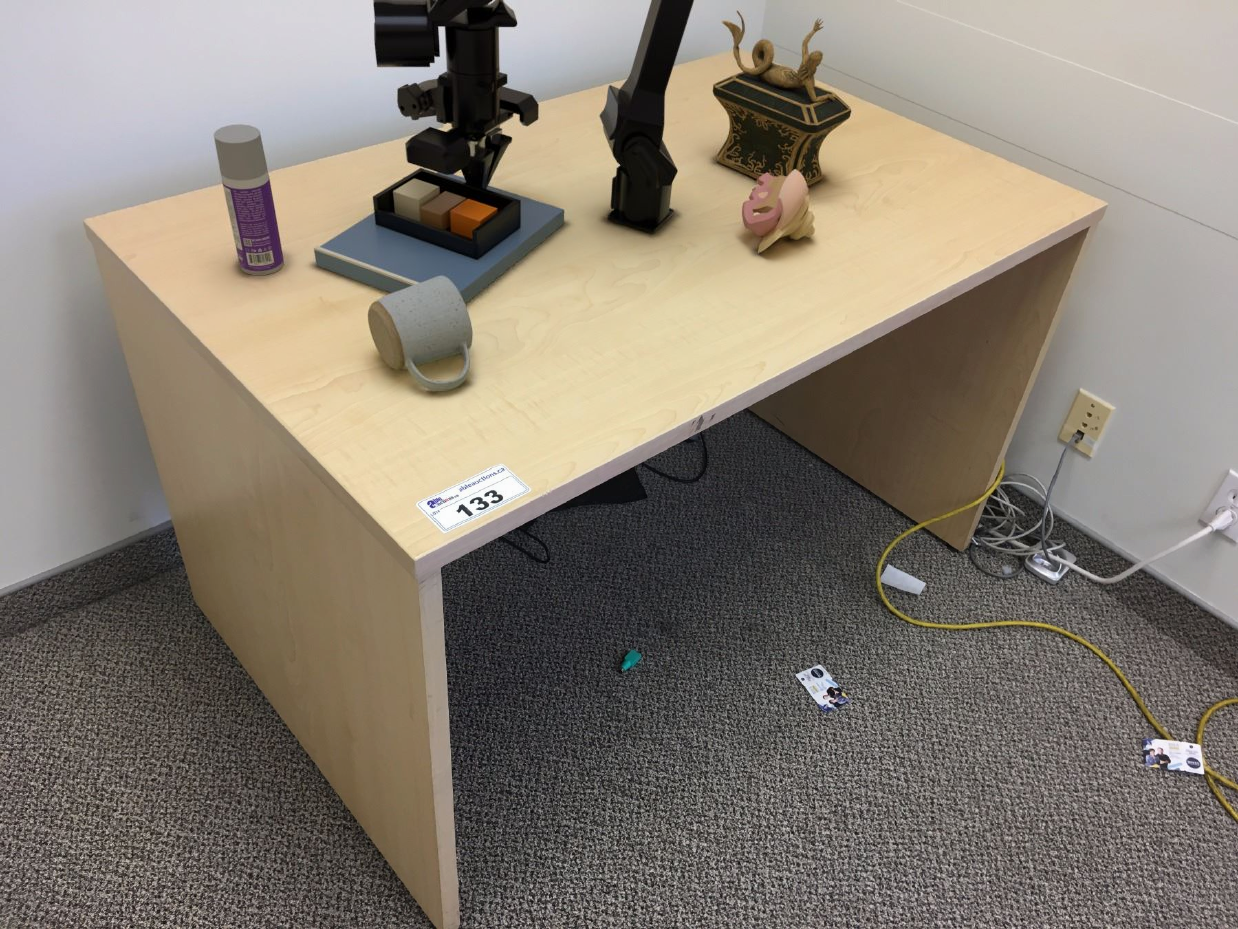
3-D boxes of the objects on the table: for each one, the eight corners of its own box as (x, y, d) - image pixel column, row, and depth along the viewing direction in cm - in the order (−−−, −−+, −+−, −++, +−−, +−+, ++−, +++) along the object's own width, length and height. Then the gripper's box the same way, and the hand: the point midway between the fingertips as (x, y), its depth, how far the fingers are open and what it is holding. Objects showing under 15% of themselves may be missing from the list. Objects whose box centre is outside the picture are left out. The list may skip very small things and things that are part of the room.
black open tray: (520, 227, 116) (521, 199, 114) (477, 260, 110) (476, 231, 108) (422, 194, 121) (420, 167, 118) (375, 224, 115) (372, 196, 112)
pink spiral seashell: (802, 222, 128) (848, 197, 119) (770, 284, 125) (815, 263, 116) (748, 178, 125) (791, 149, 116) (714, 241, 122) (755, 216, 113)
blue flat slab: (564, 224, 122) (564, 206, 120) (451, 315, 106) (450, 296, 104) (441, 184, 127) (440, 167, 126) (316, 265, 111) (313, 247, 109)
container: (292, 259, 112) (270, 129, 102) (268, 279, 108) (243, 146, 98) (256, 249, 113) (231, 120, 103) (231, 269, 109) (202, 137, 99)
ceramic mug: (366, 348, 100) (359, 282, 95) (439, 325, 104) (436, 261, 99) (416, 406, 94) (411, 340, 89) (491, 380, 98) (491, 314, 93)
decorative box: (839, 180, 136) (873, 31, 123) (798, 201, 131) (830, 48, 118) (724, 131, 146) (745, -12, 133) (682, 149, 140) (699, 1, 127)
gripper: (460, 25, 117) (465, 151, 128) (358, 74, 105) (373, 209, 115) (541, 47, 114) (540, 175, 124) (446, 100, 101) (453, 237, 112)
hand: (477, 197), depth 119 cm, fingers closed
